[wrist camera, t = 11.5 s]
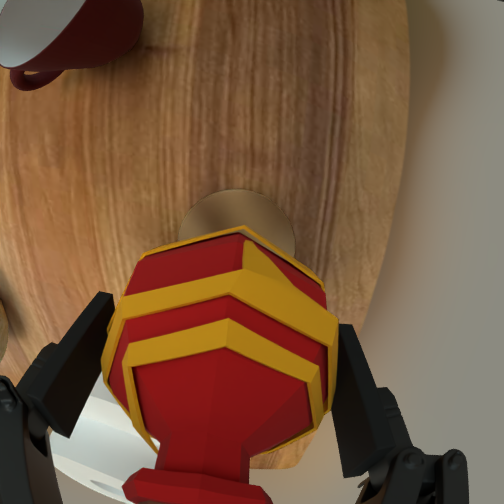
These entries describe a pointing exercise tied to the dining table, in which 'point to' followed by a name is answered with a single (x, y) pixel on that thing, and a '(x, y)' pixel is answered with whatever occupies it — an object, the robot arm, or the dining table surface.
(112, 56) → the mug
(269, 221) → the coaster
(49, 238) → the dining table surface
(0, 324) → the cantaloupe
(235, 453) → the potion bottle
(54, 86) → the dining table surface
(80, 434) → the white stepped block
